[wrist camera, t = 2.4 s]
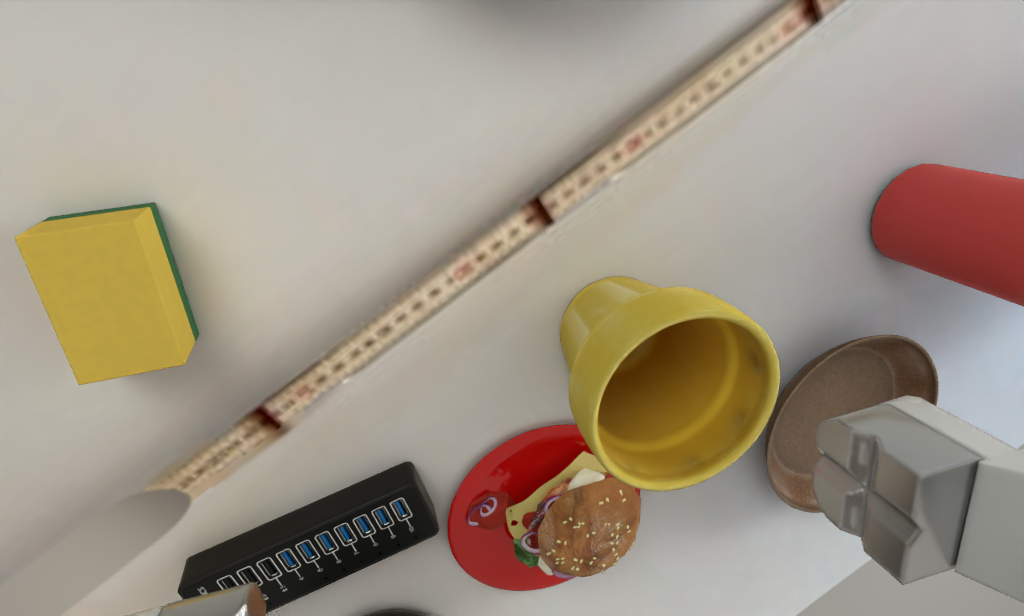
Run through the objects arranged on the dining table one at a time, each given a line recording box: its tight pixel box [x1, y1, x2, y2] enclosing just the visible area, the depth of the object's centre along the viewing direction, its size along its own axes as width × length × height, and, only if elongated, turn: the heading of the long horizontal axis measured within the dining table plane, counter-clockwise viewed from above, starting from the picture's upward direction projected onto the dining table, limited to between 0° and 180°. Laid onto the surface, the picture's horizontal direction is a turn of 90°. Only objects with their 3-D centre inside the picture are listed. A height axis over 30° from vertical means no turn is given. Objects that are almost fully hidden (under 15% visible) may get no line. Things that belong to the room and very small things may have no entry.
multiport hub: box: [178, 462, 439, 613], centre depth 37 cm, size 4×14×2 cm, turn 108°
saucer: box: [765, 335, 938, 513], centre depth 45 cm, size 15×15×3 cm
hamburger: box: [448, 425, 658, 591], centre depth 40 cm, size 14×14×6 cm
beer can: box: [872, 164, 1024, 306], centre depth 36 cm, size 7×7×12 cm
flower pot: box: [560, 277, 780, 491], centre depth 34 cm, size 10×10×10 cm
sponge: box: [15, 203, 199, 385], centre depth 28 cm, size 7×4×4 cm, turn 5°
